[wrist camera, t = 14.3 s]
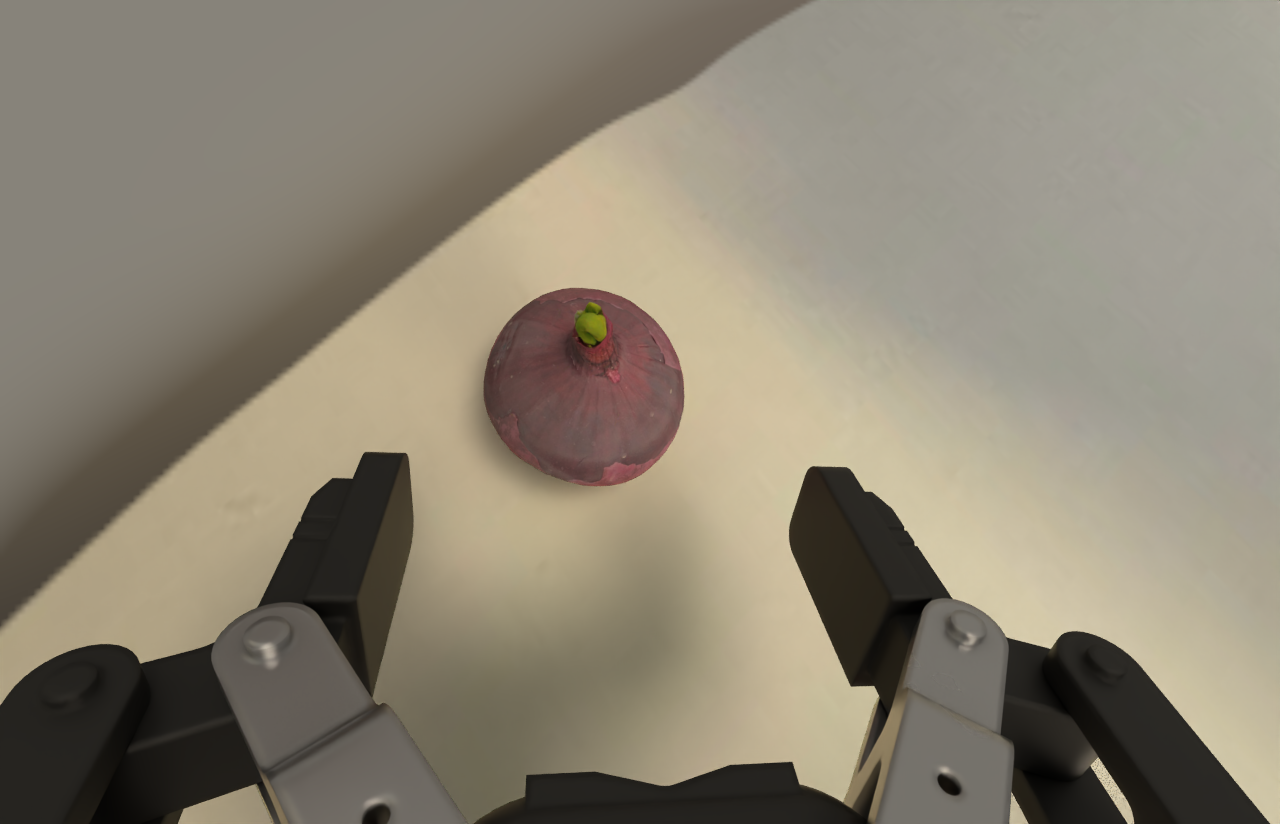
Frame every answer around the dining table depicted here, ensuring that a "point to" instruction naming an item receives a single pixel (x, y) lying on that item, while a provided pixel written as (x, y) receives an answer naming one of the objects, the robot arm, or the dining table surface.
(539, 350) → the vegetable
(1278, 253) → the dining table surface
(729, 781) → the robot arm
